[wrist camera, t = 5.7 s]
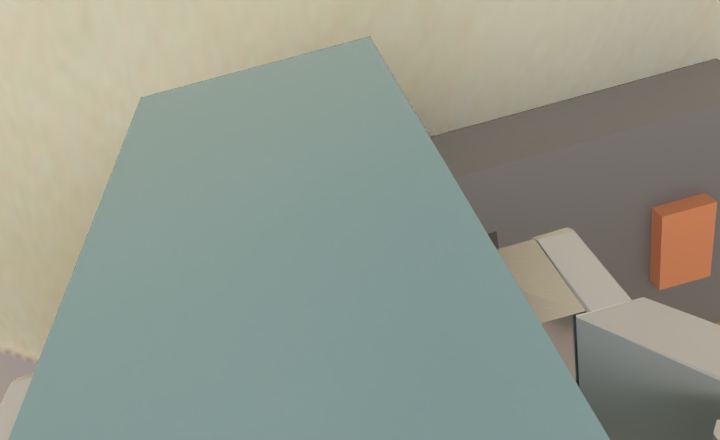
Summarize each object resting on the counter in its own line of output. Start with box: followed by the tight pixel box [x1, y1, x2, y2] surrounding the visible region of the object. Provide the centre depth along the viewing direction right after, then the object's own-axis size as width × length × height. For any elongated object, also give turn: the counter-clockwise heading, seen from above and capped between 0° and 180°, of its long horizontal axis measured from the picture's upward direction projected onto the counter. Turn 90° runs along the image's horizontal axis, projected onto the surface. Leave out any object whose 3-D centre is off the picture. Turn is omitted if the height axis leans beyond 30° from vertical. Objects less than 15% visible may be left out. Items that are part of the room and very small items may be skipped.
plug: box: [8, 36, 610, 440], centre depth 9 cm, size 4×4×11 cm
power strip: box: [430, 59, 720, 323], centre depth 30 cm, size 20×12×5 cm, turn 103°
